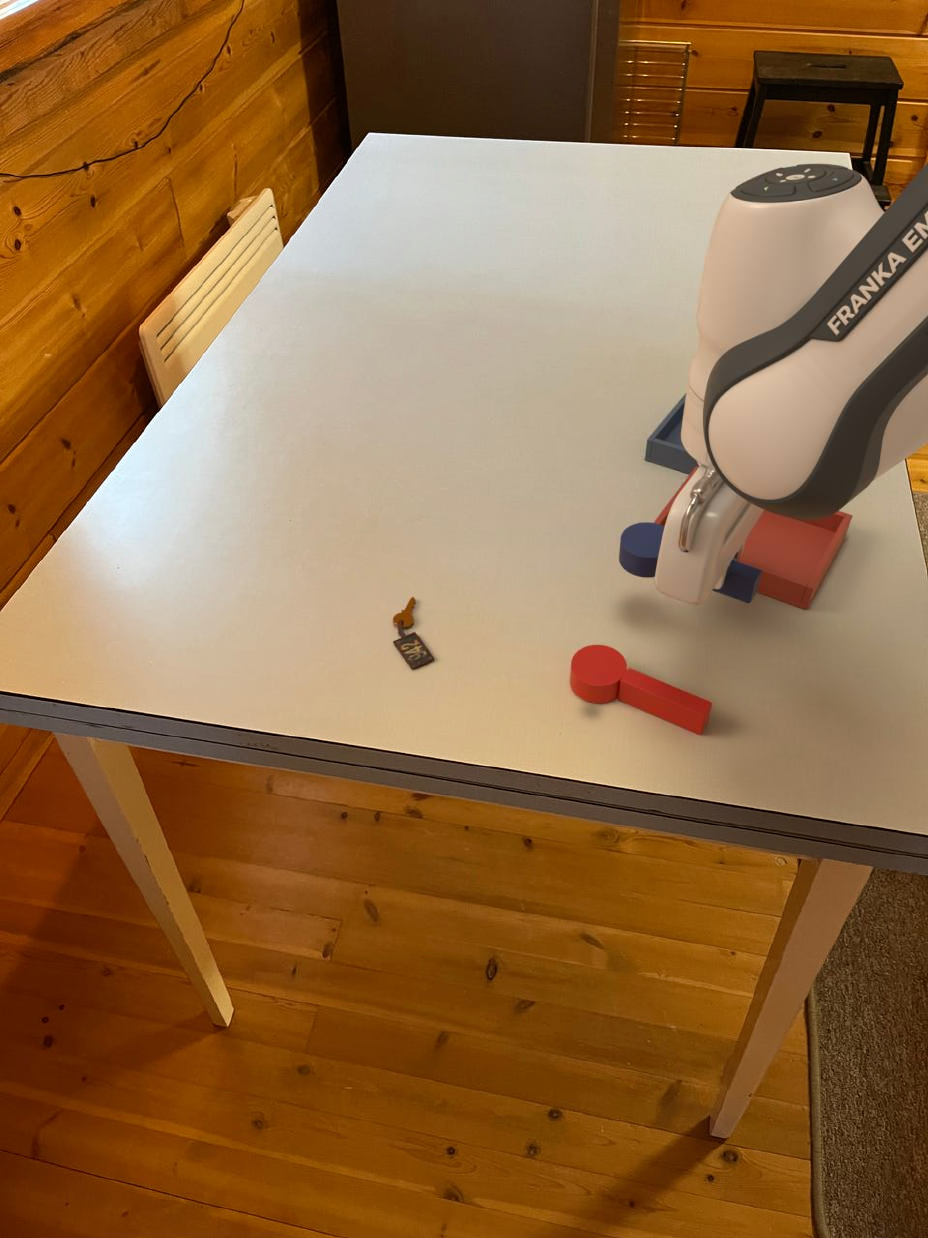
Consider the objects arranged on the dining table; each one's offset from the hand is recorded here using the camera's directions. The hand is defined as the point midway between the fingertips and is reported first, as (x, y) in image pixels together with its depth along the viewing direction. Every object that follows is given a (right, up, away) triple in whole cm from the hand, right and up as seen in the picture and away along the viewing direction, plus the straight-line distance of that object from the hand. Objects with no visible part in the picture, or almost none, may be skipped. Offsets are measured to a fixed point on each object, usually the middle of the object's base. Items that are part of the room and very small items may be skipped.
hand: (720, 570), depth 73 cm
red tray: (+6, +3, +13) cm, 15 cm away
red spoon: (-6, -10, +1) cm, 12 cm away
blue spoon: (-2, 0, +2) cm, 3 cm away
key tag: (-24, -5, +7) cm, 26 cm away
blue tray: (+8, +13, +23) cm, 28 cm away
